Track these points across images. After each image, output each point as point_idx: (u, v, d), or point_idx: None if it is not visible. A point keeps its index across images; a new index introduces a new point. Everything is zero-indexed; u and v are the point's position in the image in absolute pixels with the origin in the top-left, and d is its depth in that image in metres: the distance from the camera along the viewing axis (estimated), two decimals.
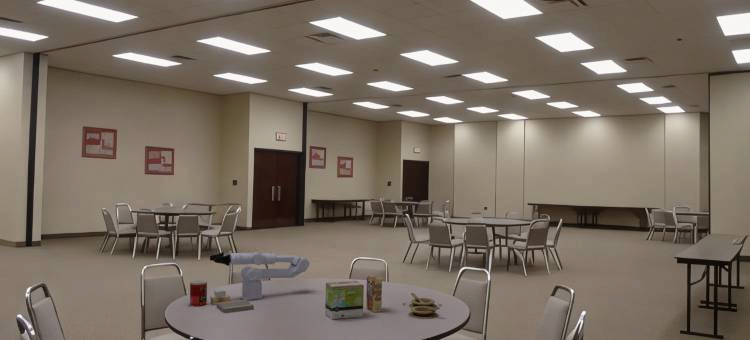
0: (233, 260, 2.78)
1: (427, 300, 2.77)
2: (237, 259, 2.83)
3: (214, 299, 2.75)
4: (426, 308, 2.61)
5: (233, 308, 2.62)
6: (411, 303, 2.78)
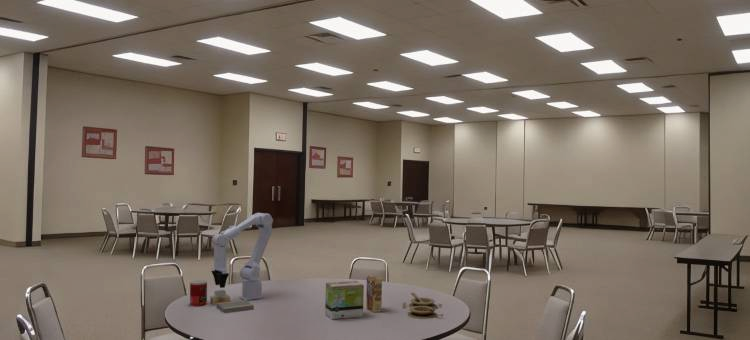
0: (224, 271, 2.72)
1: (427, 300, 2.77)
2: (221, 262, 2.76)
3: (214, 299, 2.75)
4: (425, 308, 2.61)
5: (233, 308, 2.62)
6: (411, 303, 2.78)
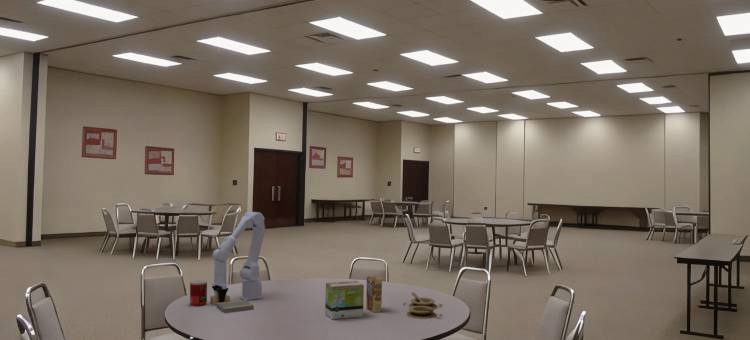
0: (224, 286, 2.72)
1: (427, 300, 2.77)
2: (221, 278, 2.76)
3: (214, 299, 2.75)
4: (424, 308, 2.62)
5: (233, 308, 2.62)
6: (411, 303, 2.79)
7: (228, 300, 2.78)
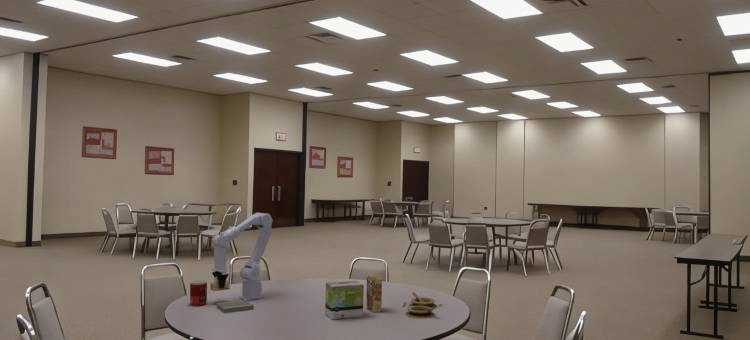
0: (224, 272, 2.72)
1: (427, 300, 2.77)
2: (221, 263, 2.76)
3: (214, 285, 2.75)
4: (423, 308, 2.62)
5: (233, 308, 2.62)
6: (412, 302, 2.79)
7: (228, 286, 2.78)
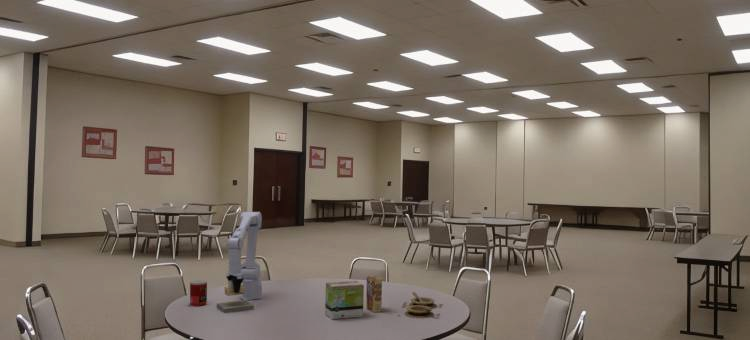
0: (239, 276, 2.62)
1: (427, 300, 2.77)
2: (236, 267, 2.66)
3: (229, 289, 2.65)
4: (423, 307, 2.62)
5: (233, 308, 2.62)
6: (412, 302, 2.79)
7: (243, 290, 2.68)
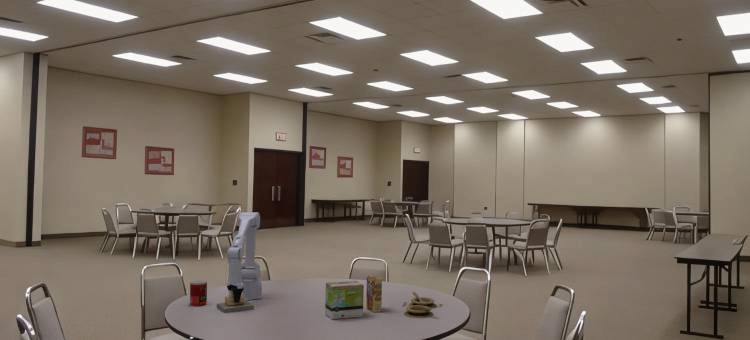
0: (239, 286, 2.62)
1: (428, 300, 2.78)
2: (237, 277, 2.66)
3: (229, 299, 2.64)
4: (422, 307, 2.62)
5: (233, 308, 2.62)
6: (412, 302, 2.80)
7: (243, 300, 2.68)
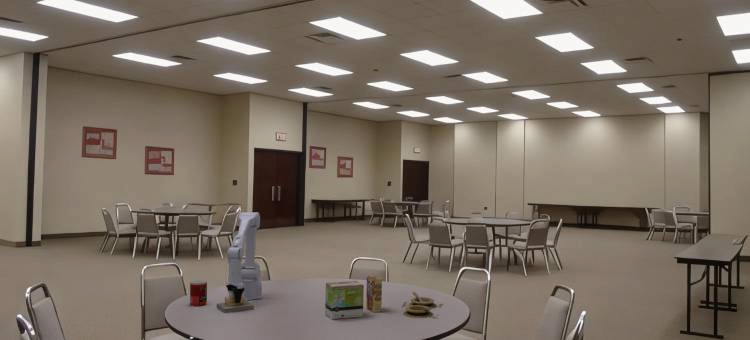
0: (239, 286, 2.62)
1: (427, 299, 2.78)
2: (237, 277, 2.66)
3: (229, 300, 2.64)
4: (422, 307, 2.62)
5: (233, 308, 2.62)
6: (412, 302, 2.80)
7: (243, 301, 2.68)
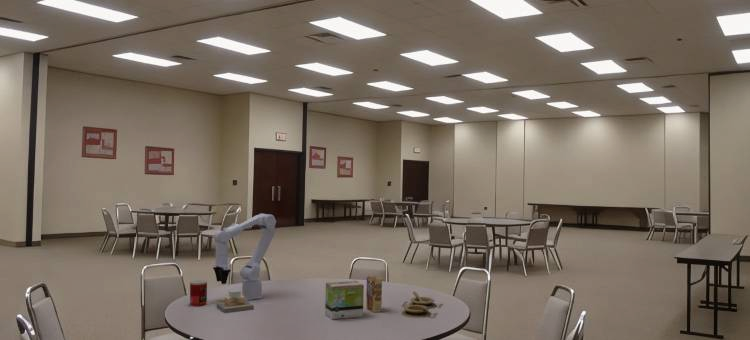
0: (225, 267, 2.74)
1: (427, 299, 2.78)
2: (223, 259, 2.78)
3: (229, 300, 2.64)
4: (420, 307, 2.63)
5: (233, 308, 2.62)
6: (412, 302, 2.81)
7: (243, 301, 2.68)
